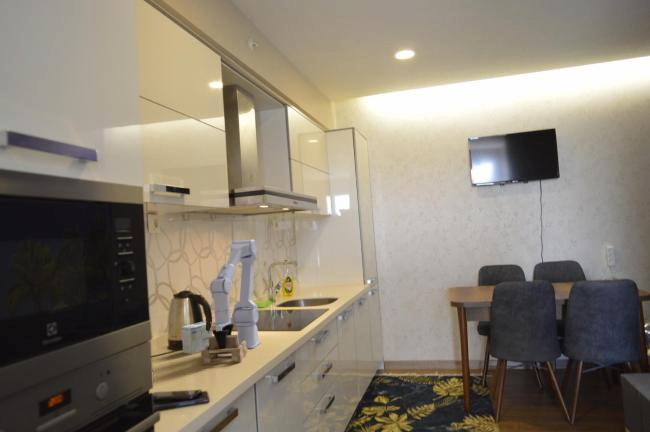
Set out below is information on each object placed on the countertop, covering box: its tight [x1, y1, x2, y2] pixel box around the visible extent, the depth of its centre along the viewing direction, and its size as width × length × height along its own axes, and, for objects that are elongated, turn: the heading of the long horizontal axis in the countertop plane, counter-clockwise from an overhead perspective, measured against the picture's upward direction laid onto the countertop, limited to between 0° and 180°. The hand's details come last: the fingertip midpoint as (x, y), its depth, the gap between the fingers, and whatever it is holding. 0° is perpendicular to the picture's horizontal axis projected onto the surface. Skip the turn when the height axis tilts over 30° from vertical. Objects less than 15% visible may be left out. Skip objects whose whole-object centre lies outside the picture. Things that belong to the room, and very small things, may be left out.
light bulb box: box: [180, 321, 213, 355], centre depth 196 cm, size 11×7×11 cm, turn 141°
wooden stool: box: [200, 340, 248, 366], centre depth 178 cm, size 14×14×5 cm
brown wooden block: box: [209, 334, 238, 355], centre depth 178 cm, size 10×4×6 cm, turn 89°
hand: (224, 346), depth 178 cm, fingers open, 7 cm apart
